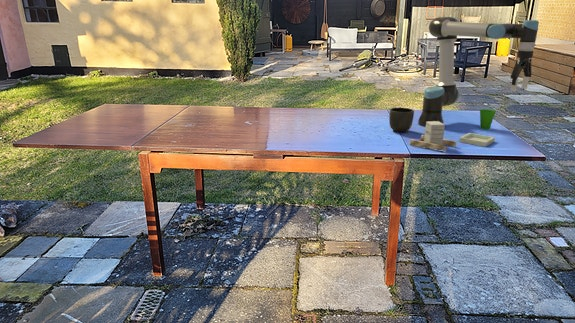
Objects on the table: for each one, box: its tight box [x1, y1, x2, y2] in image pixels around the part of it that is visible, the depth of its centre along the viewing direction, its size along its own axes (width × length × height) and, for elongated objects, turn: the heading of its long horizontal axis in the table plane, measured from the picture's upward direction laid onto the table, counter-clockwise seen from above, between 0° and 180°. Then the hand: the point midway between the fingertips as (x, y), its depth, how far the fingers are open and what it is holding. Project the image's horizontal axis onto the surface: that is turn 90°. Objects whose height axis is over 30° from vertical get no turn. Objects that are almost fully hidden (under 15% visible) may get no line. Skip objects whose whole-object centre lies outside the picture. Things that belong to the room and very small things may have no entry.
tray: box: [458, 132, 496, 148], centre depth 232 cm, size 14×14×2 cm
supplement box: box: [423, 121, 446, 145], centre depth 222 cm, size 7×7×13 cm
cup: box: [479, 108, 497, 131], centre depth 258 cm, size 9×9×11 cm
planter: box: [388, 107, 415, 134], centre depth 252 cm, size 14×14×13 cm
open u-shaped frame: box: [409, 134, 457, 152], centre depth 224 cm, size 19×14×3 cm
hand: (518, 89), depth 236 cm, fingers open, 13 cm apart
